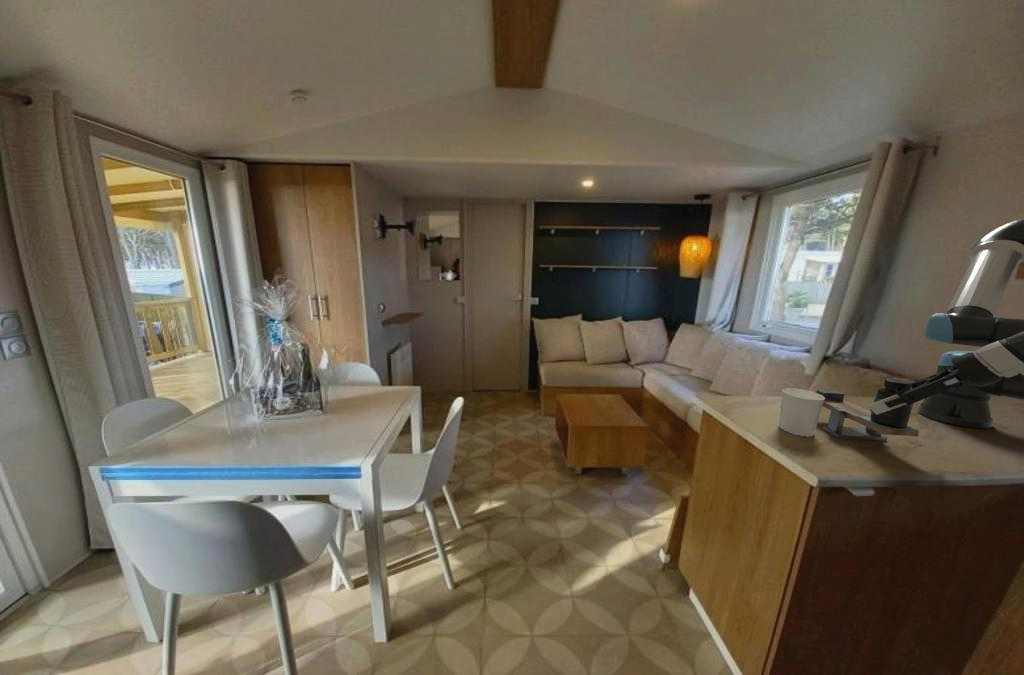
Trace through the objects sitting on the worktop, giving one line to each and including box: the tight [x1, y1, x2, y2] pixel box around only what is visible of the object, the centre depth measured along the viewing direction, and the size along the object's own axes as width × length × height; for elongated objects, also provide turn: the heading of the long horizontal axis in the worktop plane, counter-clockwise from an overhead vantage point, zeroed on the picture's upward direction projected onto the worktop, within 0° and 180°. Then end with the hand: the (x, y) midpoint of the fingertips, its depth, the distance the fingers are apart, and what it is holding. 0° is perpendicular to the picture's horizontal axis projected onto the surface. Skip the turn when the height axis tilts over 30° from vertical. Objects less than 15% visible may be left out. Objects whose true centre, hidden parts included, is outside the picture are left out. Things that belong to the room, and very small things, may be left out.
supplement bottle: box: [870, 378, 914, 428], centre depth 89 cm, size 7×7×12 cm
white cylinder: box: [778, 387, 825, 438], centre depth 102 cm, size 10×10×12 cm
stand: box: [821, 407, 888, 442], centre depth 100 cm, size 13×6×8 cm, turn 83°
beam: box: [815, 389, 919, 437], centre depth 99 cm, size 9×25×5 cm, turn 173°
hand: (878, 404), depth 91 cm, fingers open, 13 cm apart
